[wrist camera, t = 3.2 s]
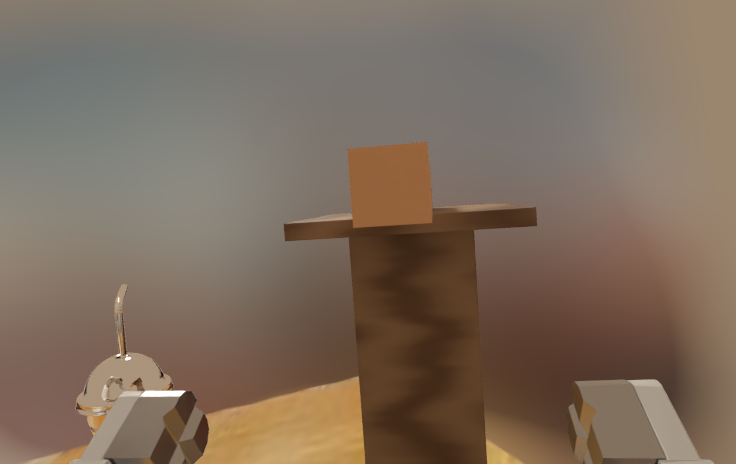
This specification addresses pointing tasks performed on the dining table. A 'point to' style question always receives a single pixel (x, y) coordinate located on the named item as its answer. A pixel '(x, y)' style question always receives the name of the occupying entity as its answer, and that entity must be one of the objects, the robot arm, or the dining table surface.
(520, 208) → the walnut stand
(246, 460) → the dining table surface
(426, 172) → the orange square bar
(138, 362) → the cup with straw
